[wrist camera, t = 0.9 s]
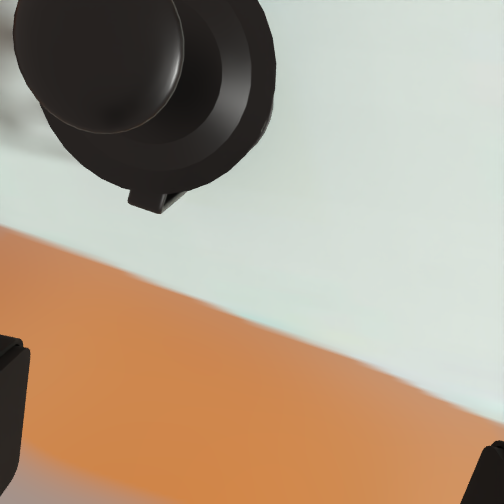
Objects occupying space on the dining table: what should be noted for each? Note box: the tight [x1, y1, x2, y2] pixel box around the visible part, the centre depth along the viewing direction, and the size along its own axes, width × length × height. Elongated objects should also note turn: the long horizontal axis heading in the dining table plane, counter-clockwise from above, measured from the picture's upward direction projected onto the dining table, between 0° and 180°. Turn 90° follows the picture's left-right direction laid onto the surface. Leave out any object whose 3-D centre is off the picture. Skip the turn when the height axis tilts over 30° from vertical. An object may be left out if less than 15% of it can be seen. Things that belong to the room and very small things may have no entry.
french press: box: [13, 0, 276, 214], centre depth 22 cm, size 12×9×23 cm
